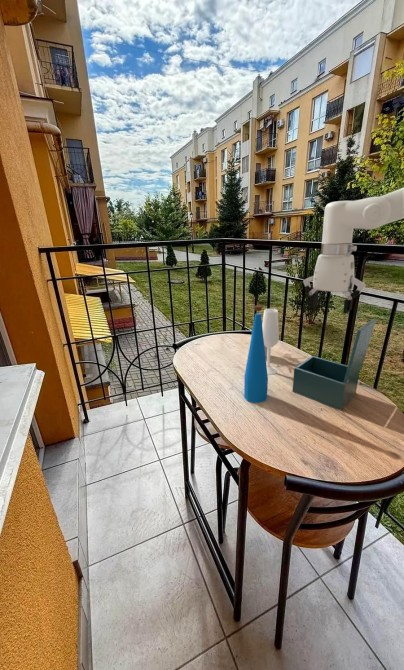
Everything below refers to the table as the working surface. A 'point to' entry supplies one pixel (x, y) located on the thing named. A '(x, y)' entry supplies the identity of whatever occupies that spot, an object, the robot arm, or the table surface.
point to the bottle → (256, 364)
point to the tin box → (324, 382)
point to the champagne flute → (270, 334)
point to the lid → (359, 350)
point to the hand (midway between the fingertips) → (329, 309)
